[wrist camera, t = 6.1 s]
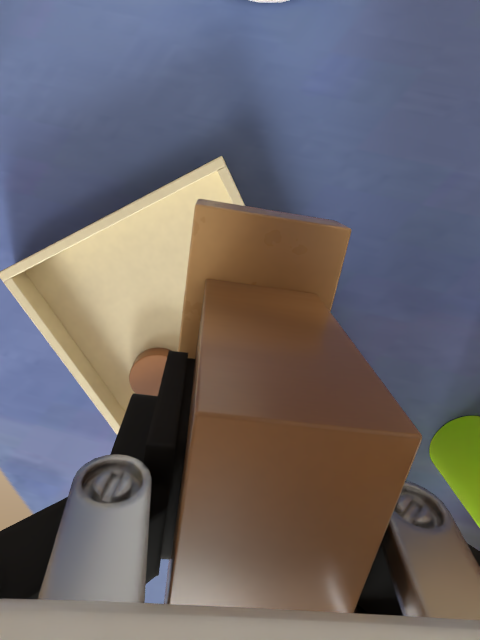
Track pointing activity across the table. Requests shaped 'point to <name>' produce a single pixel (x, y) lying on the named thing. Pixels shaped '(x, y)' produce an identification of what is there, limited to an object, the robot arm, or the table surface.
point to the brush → (279, 422)
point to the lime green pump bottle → (460, 460)
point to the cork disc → (148, 371)
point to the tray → (118, 285)
